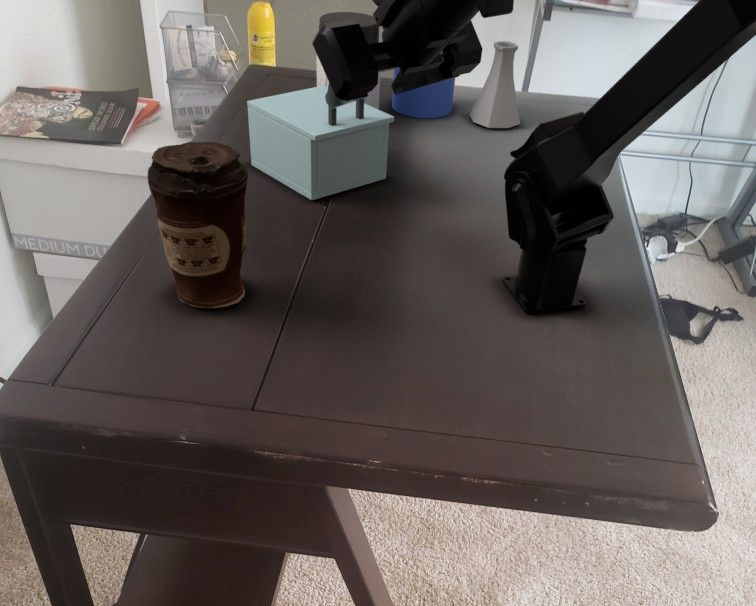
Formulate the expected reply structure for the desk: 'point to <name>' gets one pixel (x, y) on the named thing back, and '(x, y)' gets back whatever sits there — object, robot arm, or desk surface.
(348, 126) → the lid
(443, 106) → the water bottle
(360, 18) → the jar
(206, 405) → the desk surface
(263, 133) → the pale teal lidded box
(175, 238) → the coffee cup
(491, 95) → the flask
